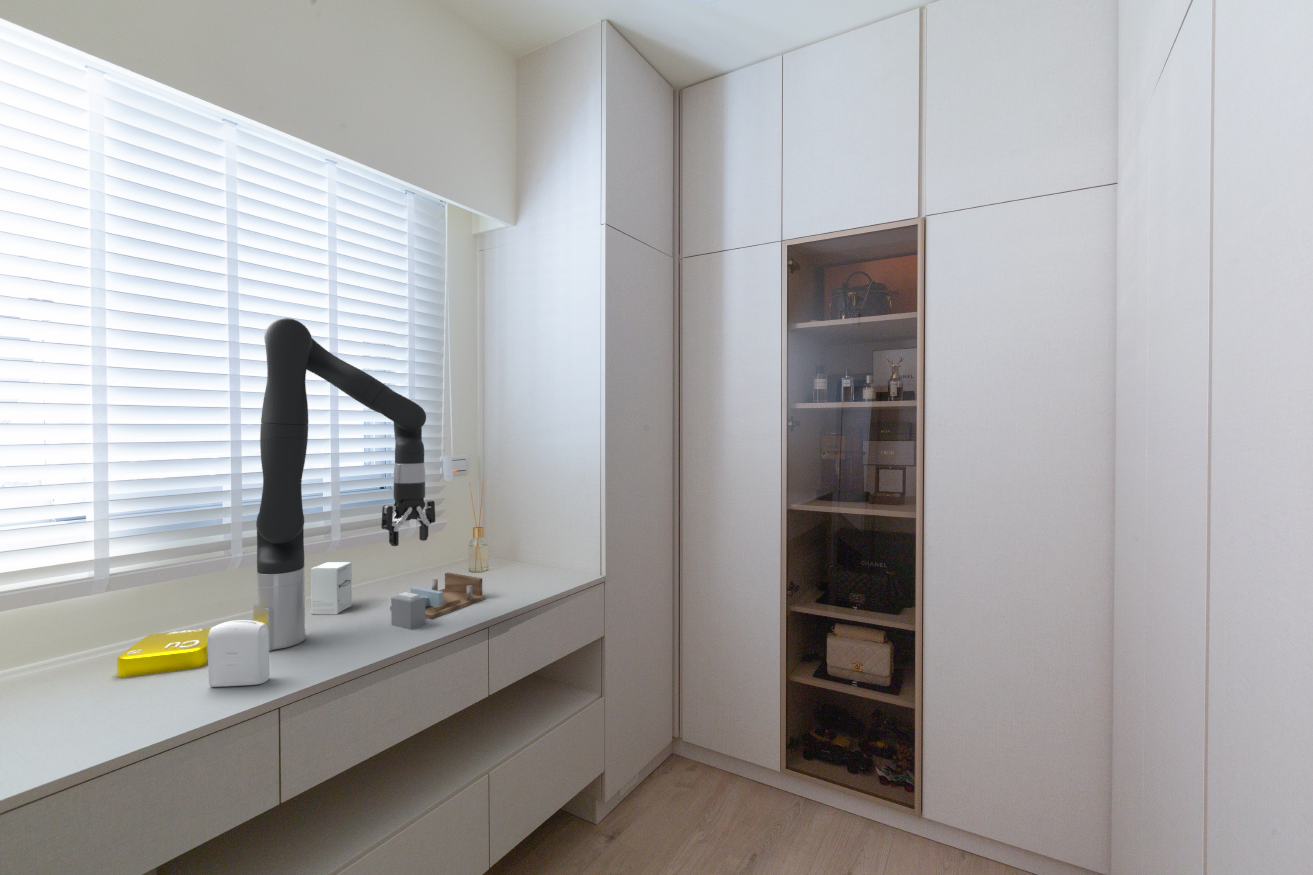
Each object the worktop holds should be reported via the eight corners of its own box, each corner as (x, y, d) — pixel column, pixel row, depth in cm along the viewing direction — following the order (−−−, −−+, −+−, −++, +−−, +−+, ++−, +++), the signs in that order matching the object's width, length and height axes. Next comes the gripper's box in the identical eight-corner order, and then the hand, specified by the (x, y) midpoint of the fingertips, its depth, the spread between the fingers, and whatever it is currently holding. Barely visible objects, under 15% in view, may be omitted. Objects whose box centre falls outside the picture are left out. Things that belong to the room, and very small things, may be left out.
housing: (431, 618, 149) (431, 596, 149) (390, 609, 156) (390, 588, 156) (484, 598, 166) (484, 578, 166) (445, 591, 173) (445, 571, 173)
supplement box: (337, 614, 152) (337, 568, 152) (310, 614, 152) (309, 567, 152) (352, 606, 159) (352, 561, 159) (326, 605, 159) (326, 561, 159)
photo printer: (204, 689, 109) (203, 625, 109) (218, 679, 113) (218, 617, 113) (260, 686, 110) (259, 623, 110) (273, 677, 114) (272, 616, 114)
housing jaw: (426, 612, 150) (426, 597, 150) (397, 606, 155) (397, 591, 155) (443, 606, 156) (443, 591, 155) (415, 600, 161) (415, 586, 160)
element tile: (228, 643, 133) (228, 623, 133) (203, 669, 119) (203, 646, 119) (148, 652, 127) (147, 631, 127) (112, 680, 113) (112, 657, 113)
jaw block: (410, 629, 141) (410, 598, 141) (391, 625, 144) (391, 594, 144) (425, 624, 145) (425, 593, 145) (406, 619, 148) (406, 590, 148)
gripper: (394, 483, 138) (393, 549, 139) (442, 479, 151) (441, 539, 151) (375, 481, 142) (374, 546, 142) (423, 477, 154) (423, 536, 155)
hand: (409, 542), depth 147 cm, fingers open, 8 cm apart
